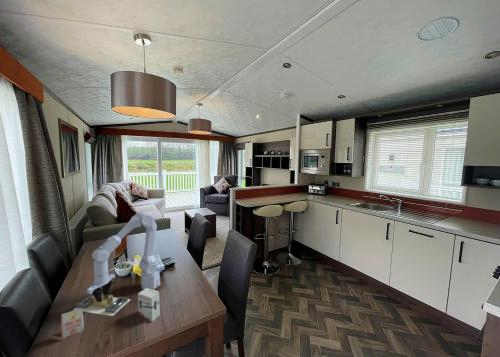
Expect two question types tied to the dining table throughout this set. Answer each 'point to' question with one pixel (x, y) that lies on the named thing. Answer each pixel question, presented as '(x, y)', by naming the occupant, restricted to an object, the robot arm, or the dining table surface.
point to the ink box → (149, 304)
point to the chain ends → (110, 308)
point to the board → (100, 309)
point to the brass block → (105, 301)
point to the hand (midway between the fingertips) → (102, 299)
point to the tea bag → (71, 323)
